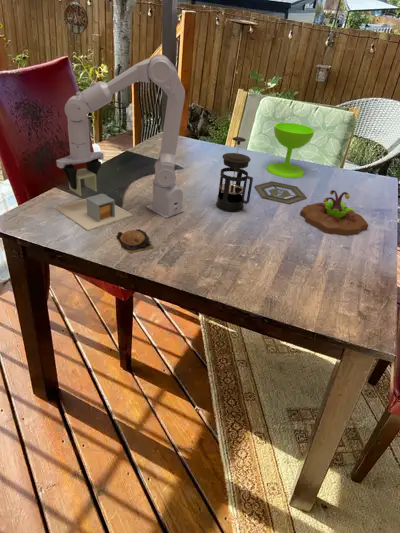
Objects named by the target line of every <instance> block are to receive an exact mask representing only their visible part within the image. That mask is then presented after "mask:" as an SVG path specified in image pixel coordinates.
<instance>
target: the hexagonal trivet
mask: <svg viewBox="0 0 400 533" xmlns="http://www.w3.org/2000/svg"><path fill="white" fill-rule="evenodd" d="M253 188H254V189H255V191H256V192H257V194H258V195H259V196H260V198H261V199H264V200H268V201H271V202H277V203H281V204H285V205H286V204H287V205H292V204H295V203H298V202H302V201H304V200H307V199H308V196H307V195H306V194H305V193H304V192H303V191H302V190H301V189H300V188H299V187H298V186H295V185H291V184H288V183H287V184H286V183H282V182H277V181H272V180H270V181H268V182H265V183H264V182H263V183H260V184H256V185H254V187H253ZM269 188H271V189H269ZM266 189H268V192H269V193H270V194H268V192H267V191H266ZM290 190H291V191H292V192H293V193H294V195H293V194H291V193H290ZM288 197H289V198H288Z"/></svg>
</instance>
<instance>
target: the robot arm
mask: <svg viewBox="0 0 400 533" xmlns="http://www.w3.org/2000/svg"><path fill="white" fill-rule="evenodd" d="M149 79H150V81H152V83H154V84H155V85H156V86H158V87H159V88H161V89H162V91H163V92H164V94H165V95H166V96H167V99H166V100H167V102H166V107H165V108H166V109H165V116H164V123H163V129H162V136H161V143H160V144H161V145H160V150H159V155H158V158H157V160H156V161H155V163H154V173H155V174H154V178H153V180H152V203H151V204H148V205H146V208H147V209H149V210H150V211H153V212H154V213H156V214H158V215H159V216H162V217H163V218H169V217H173V216H175V215H177V214H181V213H183V212H184V211H185V210H184V209H183V198H184V197H183V196H184V195H183V191H182V190H181V189H180V188H179V187H178V185H177V174H176V171H175V166H176V153H177V148H178V141H179V135H180V129H181V123H182V117H183V116H182V115H183V109H184V104H185V99H186V90H185V87H184V86H183V83H182V81H181V80H182V79H181V78H180V75H179V74H178V71H177V69H176V67H175V65H174V64H173V63H172V61H170V59H169V57H167V56H166V55H164V54H162V53H161V54H160V53H159V54H154V55H153V56H152V57H151V58H148V57H147V58H146V59H144V60H142V61H139V62H137V63H136V64H134V65H132V66H131V67H130V68H128V69H126V70H125V71H123V72H122V73H120V74H119V75H117V76H116V77H114V78H113V79H111V80H110V81H108V82H104V81H102V80H99V81H97V82H96V81H95V80H94V81H92V82H91V83H90V86H89V87H87V88H86V89H84V90H82V91H80V90H79V91H77V92H76V93H75V94H76V95H72V96H71V97H69V99H68V100H67V102H65V105H64V114H65V116H66V117H67V133H68V143H69V155H67V156H64V157H62V158H59V159H56V161H55V162H56V167H57V168H59V169H62V171H63V173H64V175H65V176H66V178H67V180H68V184H69V183H70V186H71V188H72V189H74V190H75V189H76V188H77V184H76V174H77V170H78V169H76V168H75V166H74V165H79V164H84V163H85V164H86V169H87V170H89V171H91V172H93V173H94V174H96V177H97V176H98V172H99V170H100V168H101V166H102V162H101V161H102V160H104V152H101V151H94V152H93V151H92V152H91V141H90V125H89V120H88V118H89V117H88V114H89V113H90V114H91V113H94V112H96V111H97V110H99V109H102V107H104V106H106V105H108V104H109V103H111V102H113V101H112V100H113V95H114V94H117V93H118V92H120V91H122V90H123V89H126V88H128V87H130V86H131V85H133V84H135V83H137V82H143V83H149ZM100 160H101V161H100Z"/></svg>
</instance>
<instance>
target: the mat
mask: <svg viewBox="0 0 400 533" xmlns="http://www.w3.org/2000/svg"><path fill="white" fill-rule="evenodd" d="M54 210H56V211H58V212H59V213H61V214H62V215H64V216H65V217H67V218H68V219H69V220H71V221H72V222H74V223H75V224H76V225H78V226H80V227H81V228H83V229H84V230H86V231H87V232H89V231H92V230H96V229H98V228H100V227H104V226H107V225H110V224H112V223H115V222H118V221H121V220H125V219H128V218H130V217H133V214H132V213H131V212H129V211H127V210H125V209H123V208H122V207H120V206H119V205H117V204H115V217H113V216H110V217H107V218H104V219H101V220H100V222H98V221H96V220H95V219H93V218H92V217H90V216H89V215H87V203H86V198H84V199H80V200H76V201H72V202H69V203H65V204H62V205H58V206H55V207H54Z"/></svg>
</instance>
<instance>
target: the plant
mask: <svg viewBox="0 0 400 533" xmlns="http://www.w3.org/2000/svg"><path fill="white" fill-rule="evenodd" d="M329 194H330V195H334V196H335V198H334V197H331V196H330V197H325V198H324V199H323V202H316V203H312V204H307V205H305V206H303V207H302V209H300V212H299V216H300V217H302V218H303V219H304V222H305V223H307V224H308V225H310V226H312V227H314V228H315V229H317V230H319V231H321V232H323V233H325V234H330V235H338V236H354V235H359V233H360V232H363V231H368V229H369V228H368V227H369V224H368V222H367V221H366V220H365V219H364V217H363V216H362V215H361V214H359V213H356V212H355V210H354V207H353V206H349V207H348V206H346V202H343V201H342V199H343V197H344V198H345V199H346V200H349V199H350V197H351V196H350V194H349V193H348V192H347V191H344V192H342V193H341V194H340V195H339V196H338V193H337V191H336V190H334V189H332V190H330V192H329ZM329 200H330V201H329Z"/></svg>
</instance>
